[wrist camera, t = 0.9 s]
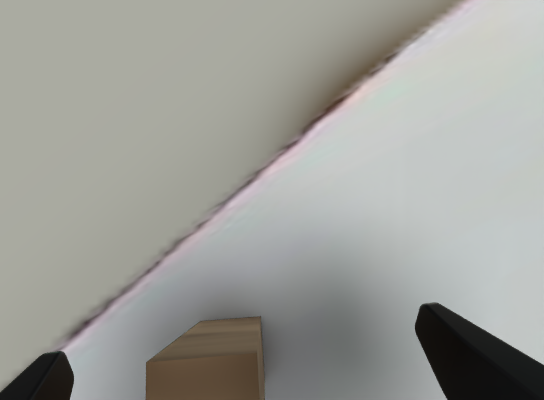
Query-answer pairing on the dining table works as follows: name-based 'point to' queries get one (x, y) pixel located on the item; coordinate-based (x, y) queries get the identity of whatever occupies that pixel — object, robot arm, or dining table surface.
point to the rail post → (210, 363)
